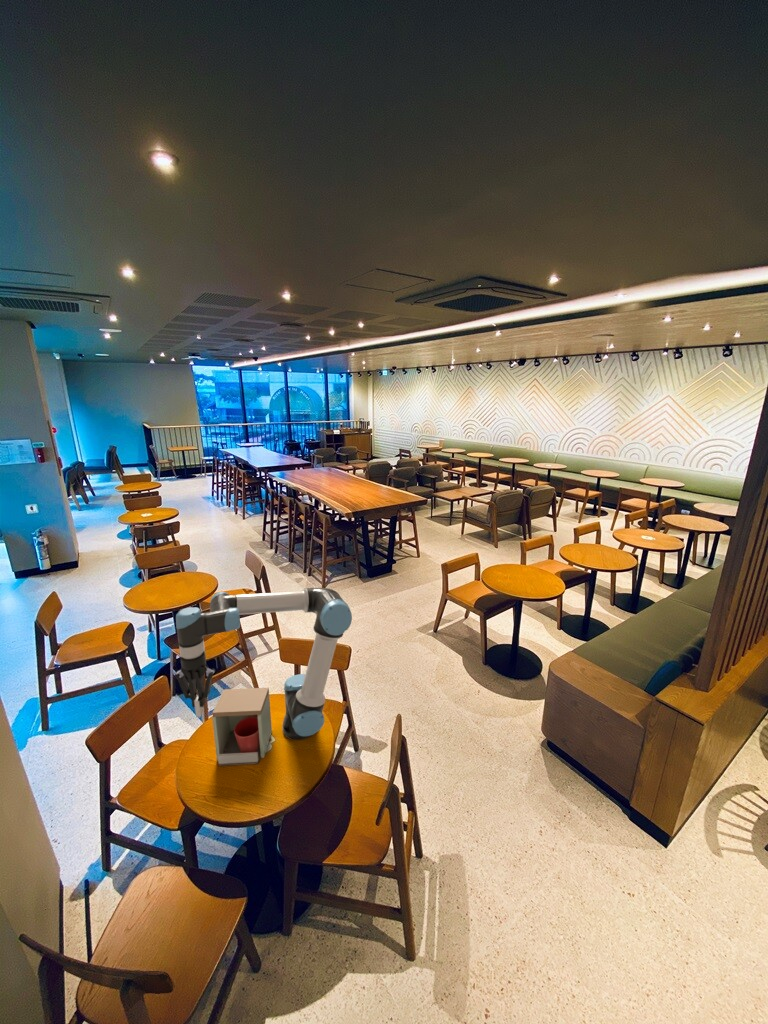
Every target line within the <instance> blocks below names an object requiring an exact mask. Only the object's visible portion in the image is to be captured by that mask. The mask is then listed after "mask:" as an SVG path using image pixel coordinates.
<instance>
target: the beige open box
mask: <svg viewBox="0 0 768 1024" xmlns="http://www.w3.org/2000/svg"><path fill="white" fill-rule="evenodd" d="M270 701H271V700H270V689H269V687H252V688H251V687H250V688H231V689H230V688H228V689H227V688H225V689H223V691H222V693H221V695H220V697H219V699H218V701H217V703H216V705H215V707H214V709H213V711H212V718H211V719H212V726H213V737H214V744H215V745H214V746H215V753H216V754H215V755H216V761H218V755H219V754H223V752H224V750H225V747H226V745H227V743H228V740H229V738H230V731H234V728H235V726H236V725H237V723H238V722H240V721H241V720H243V719H245V718H247V717H258V728H259V740H260V752H261V755H260V759H263V758H265V757H266V752H267V749H268V745H269V742H270V738H271V735H272V733H273V729H272V715H271V702H270Z"/></svg>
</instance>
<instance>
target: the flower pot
mask: <svg viewBox="0 0 768 1024" xmlns="http://www.w3.org/2000/svg"><path fill="white" fill-rule="evenodd" d="M234 733H235V737H236V740H237V743H238V745H239V748H240V751H241V753H251V752H256V751H257V750H258V749H259V747H260V740H259V728H258V717H247V718H245V719H243V720H241V721H240V722H238V723H237V725H236V726H235V728H234Z"/></svg>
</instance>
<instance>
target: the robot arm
mask: <svg viewBox="0 0 768 1024" xmlns="http://www.w3.org/2000/svg"><path fill="white" fill-rule="evenodd" d="M293 611H294V612H295V611H302V612H304V613H313V614H315V615H316V617H315V619H314V620H315V621H314V625H313V629H312V630H313V631H314V633H315V636H314V641H313V645H312V648H311V652H310V656H309V660H308V664H307V667H306V671H305V674H304V673H298V674H294V675H292V676H289V677H288V678H287V679H286V680H285V681H284V685H283V690H284V702H285V715H284V718H283V721H282V732H283V735H284V736H285V737H287V738H288V739H290V740H292V741H293V740H294V741H300V740H305V739H307V738H310V737H311V736H313V735H315V734H316V733H317V732H320V731H321V729H322V728H323V727H324V725H325V715H324V714H323V710H324V706H325V703H326V696H325V694H324V692H325V687H326V684H327V680H328V678H329V674H330V669H331V666H332V662H333V658H334V654H335V651H336V648H337V644H338V640H339V639H340V638H342V637H344V633H345V632H346V631H348V630H349V628H350V627H351V625H352V621H353V616H352V615H353V614H352V611H351V608H350V607H349V605H348V603H347V602H346V601H345V600H344V599H343V597H341V595H340V594H339V592H337V591H336V590H334V589H331V588H328V587H306V588H303V589H302V590H297V591H281V592H280V591H279V592H278V591H277V592H262V593H246V594H245V593H244V594H229V593H228V592H226V591H218V592H216V593H214V595H213V596H211V598H210V601H209V611H207V612H201V609H200V608H199V607H196V606H195V607H186V608H182V609H180V610H178V612H177V613H176V614H175V621H176V622H175V625H176V626H175V627H176V634H177V640H178V647H179V648H178V649H179V656H180V657H179V658H180V664H181V666H180V667H181V668H180V669H179V670H177V671H176V673H175V674H174V676H173V677H174V678H175V679H176V681H178V684H179V687H180V689H181V692H182V693H183V696H184V699H186V700H187V699H190V700H191V707H192V708H194V711H195V717H196V718H201V717H202V715H203V713H204V706H205V705H206V700H205V699H206V698H208V696H209V694H210V692H211V686H212V681H213V680H212V679H213V675H214V673H215V672H216V669H215V668H212V669H211V668H209V666H208V664H207V658H206V650H205V649H206V647H205V641H204V637H206V636H211V635H215V634H216V635H217V634H222V633H226V632H227V633H228V632H232V631H236V630H238V629H240V628H241V619H240V615H241V616H242V615H253V614H254V615H255V614H268V613H282V612H293ZM205 673H206V675H205ZM204 675H205V676H206V680H205V684H204Z"/></svg>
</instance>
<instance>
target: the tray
mask: <svg viewBox="0 0 768 1024" xmlns="http://www.w3.org/2000/svg"><path fill="white" fill-rule="evenodd" d="M260 759H261V752H260V747H259V749H258V750H257V751H256V752H251V753H241V751H240V748H239V745H238V743H237V740H236V737H235V733H234V731H230V737H229V740H228V742H227V745H226V747H225V749H224V752H223V754H219V755H218V760H217V762H218V766H219V767H222V766H241V765H242V766H243V765H258V764H259V762H260Z"/></svg>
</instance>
